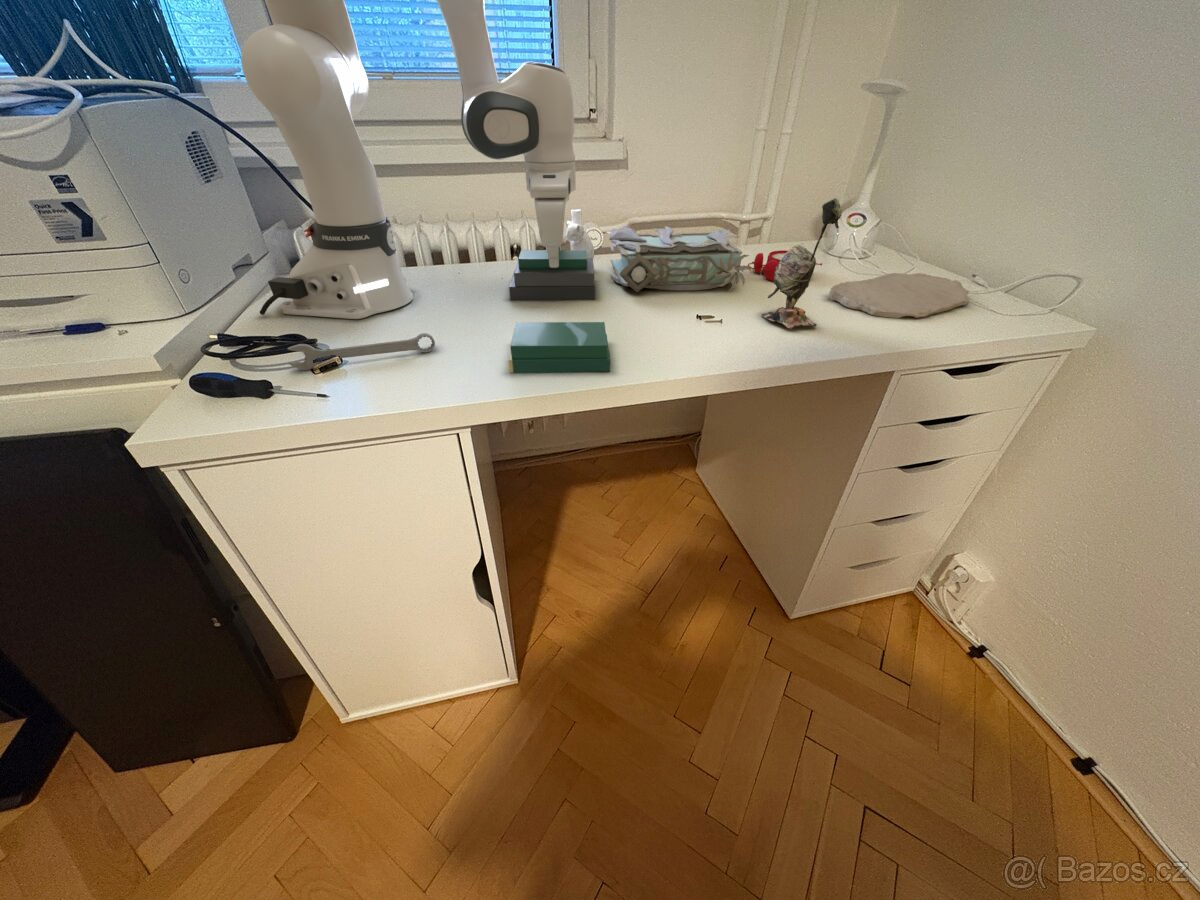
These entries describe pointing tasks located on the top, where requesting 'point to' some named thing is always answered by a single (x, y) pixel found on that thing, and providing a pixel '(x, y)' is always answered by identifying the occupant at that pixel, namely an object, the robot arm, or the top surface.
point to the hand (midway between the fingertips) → (555, 259)
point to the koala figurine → (578, 235)
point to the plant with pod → (799, 274)
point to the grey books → (553, 284)
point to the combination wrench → (357, 350)
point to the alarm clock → (769, 263)
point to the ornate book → (676, 260)
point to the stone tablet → (901, 295)
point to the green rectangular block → (559, 347)
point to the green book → (541, 260)
